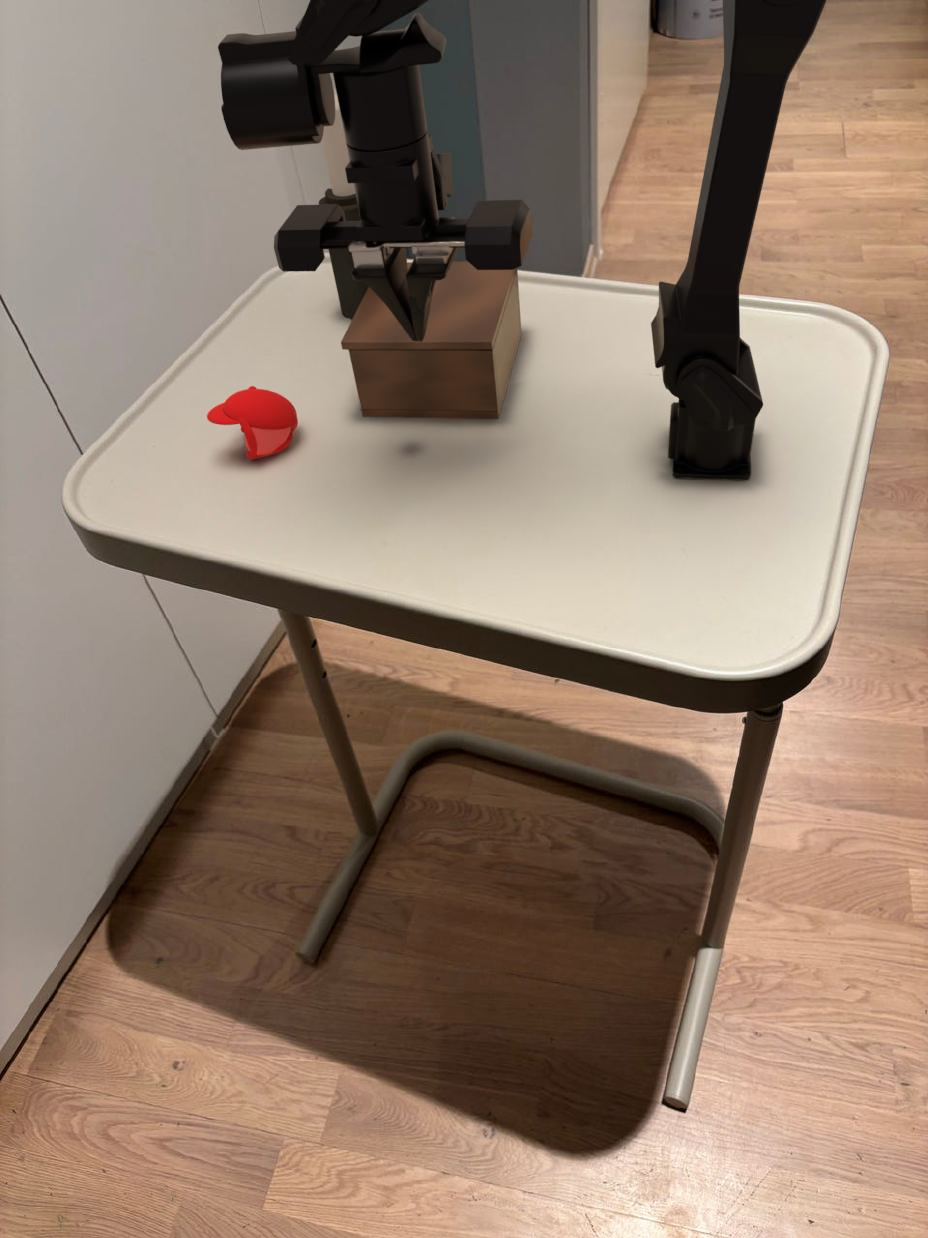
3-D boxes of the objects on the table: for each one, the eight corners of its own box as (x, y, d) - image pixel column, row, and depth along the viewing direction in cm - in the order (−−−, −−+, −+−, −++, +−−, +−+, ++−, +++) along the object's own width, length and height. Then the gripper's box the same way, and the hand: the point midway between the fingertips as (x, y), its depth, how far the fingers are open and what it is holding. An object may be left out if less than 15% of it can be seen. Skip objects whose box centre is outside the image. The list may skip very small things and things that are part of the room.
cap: (282, 416, 94) (267, 362, 89) (313, 440, 90) (299, 386, 86) (211, 450, 91) (192, 397, 86) (241, 477, 87) (222, 423, 83)
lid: (342, 349, 87) (340, 341, 87) (382, 269, 98) (380, 262, 97) (492, 349, 84) (491, 341, 84) (517, 267, 95) (516, 259, 94)
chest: (362, 416, 92) (348, 349, 87) (398, 333, 103) (387, 269, 97) (498, 418, 90) (492, 350, 84) (521, 333, 100) (517, 267, 95)
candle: (366, 295, 110) (321, 55, 92) (400, 304, 107) (360, 59, 89) (337, 315, 107) (285, 72, 89) (371, 324, 105) (325, 77, 87)
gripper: (537, 88, 68) (547, 289, 79) (298, 100, 72) (339, 290, 84) (511, 148, 61) (526, 361, 72) (246, 157, 65) (299, 357, 76)
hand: (419, 338), depth 76 cm, fingers closed
